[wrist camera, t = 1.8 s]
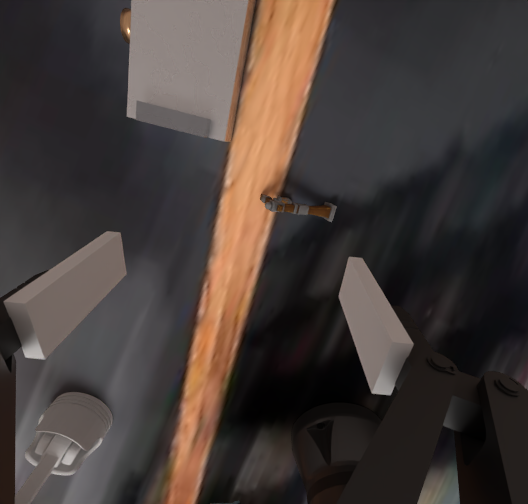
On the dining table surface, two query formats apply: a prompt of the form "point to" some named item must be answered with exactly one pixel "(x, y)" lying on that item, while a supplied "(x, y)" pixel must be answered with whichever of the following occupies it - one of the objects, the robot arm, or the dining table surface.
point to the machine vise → (187, 62)
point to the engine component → (64, 439)
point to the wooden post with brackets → (298, 207)
